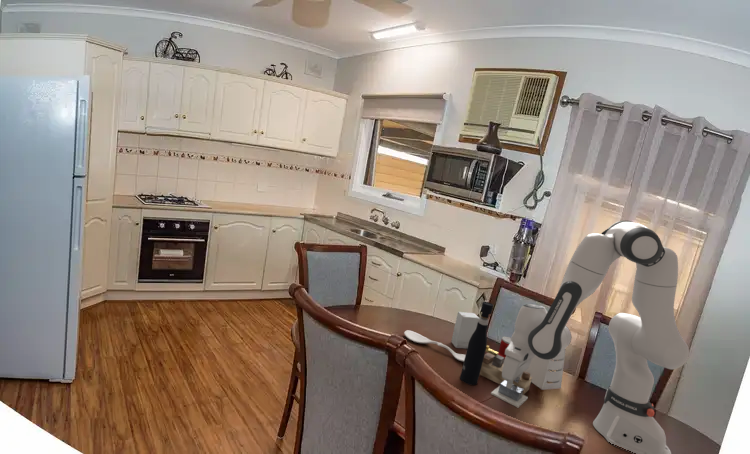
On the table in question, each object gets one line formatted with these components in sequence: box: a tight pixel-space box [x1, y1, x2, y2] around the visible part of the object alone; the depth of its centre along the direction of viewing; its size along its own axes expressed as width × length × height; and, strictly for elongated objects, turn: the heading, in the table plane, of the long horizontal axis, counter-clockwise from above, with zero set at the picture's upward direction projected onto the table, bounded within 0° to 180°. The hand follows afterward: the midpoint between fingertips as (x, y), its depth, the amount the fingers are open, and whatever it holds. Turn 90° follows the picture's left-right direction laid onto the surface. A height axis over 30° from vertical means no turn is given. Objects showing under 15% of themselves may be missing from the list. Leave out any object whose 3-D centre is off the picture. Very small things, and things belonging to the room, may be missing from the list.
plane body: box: [479, 352, 532, 395], centre depth 164 cm, size 18×7×8 cm, turn 52°
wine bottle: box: [459, 301, 494, 386], centre depth 158 cm, size 6×6×30 cm
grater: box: [525, 348, 567, 391], centre depth 170 cm, size 10×10×20 cm
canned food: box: [497, 336, 512, 364], centre depth 180 cm, size 8×8×11 cm
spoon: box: [403, 329, 466, 363], centre depth 182 cm, size 9×32×4 cm, turn 56°
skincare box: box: [450, 311, 480, 350], centre depth 190 cm, size 8×6×15 cm
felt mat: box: [490, 385, 529, 408], centre depth 154 cm, size 10×10×1 cm
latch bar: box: [485, 344, 499, 356], centre depth 168 cm, size 6×2×2 cm, turn 52°
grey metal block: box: [498, 381, 524, 401], centre depth 154 cm, size 7×4×3 cm, turn 52°
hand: (512, 384), depth 153 cm, fingers open, 6 cm apart
